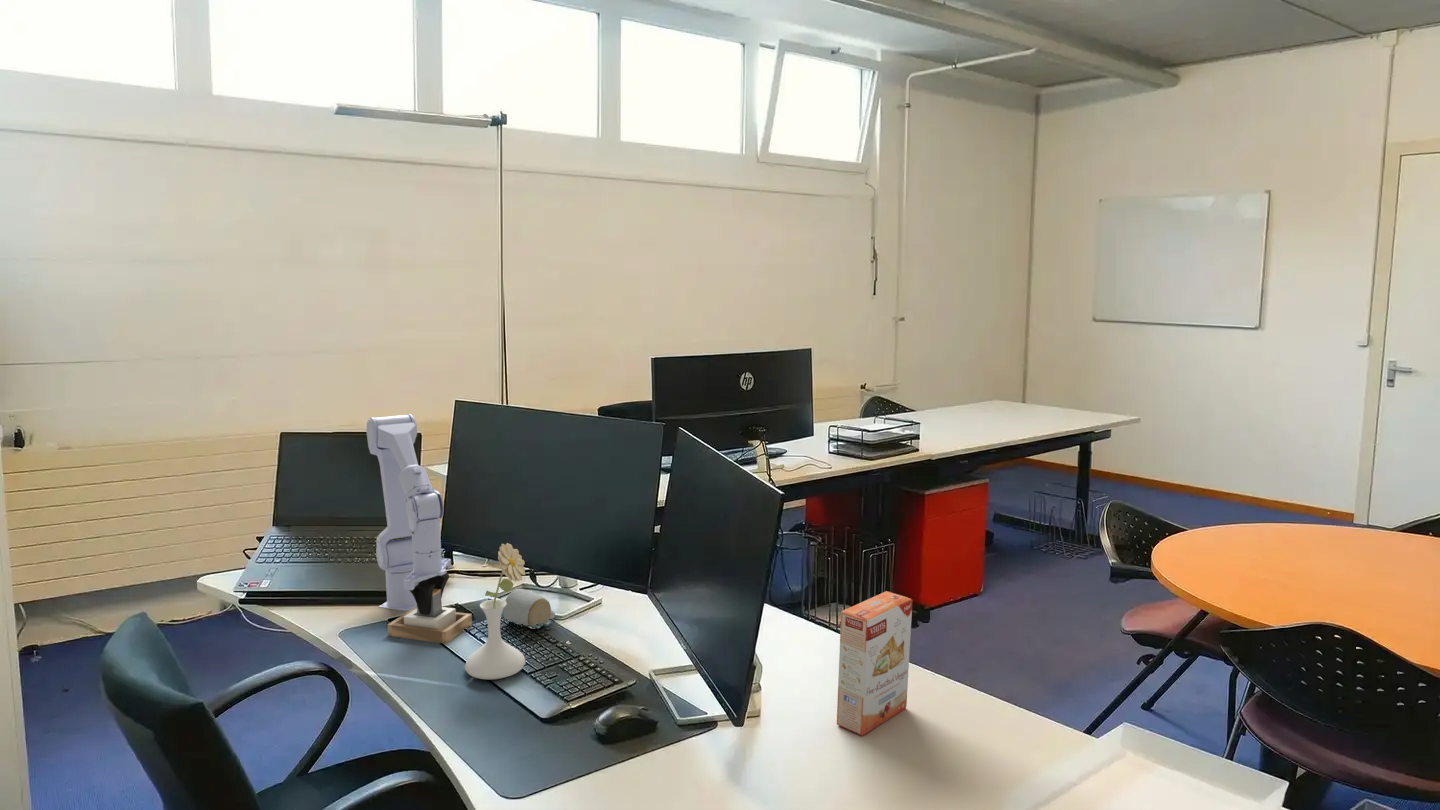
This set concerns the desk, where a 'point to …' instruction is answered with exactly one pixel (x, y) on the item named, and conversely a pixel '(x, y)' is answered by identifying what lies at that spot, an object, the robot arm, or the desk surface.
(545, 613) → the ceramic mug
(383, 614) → the desk surface
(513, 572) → the flower in vase
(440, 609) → the block
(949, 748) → the desk surface
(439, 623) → the socket block
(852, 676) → the cracker box
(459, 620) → the walled box
